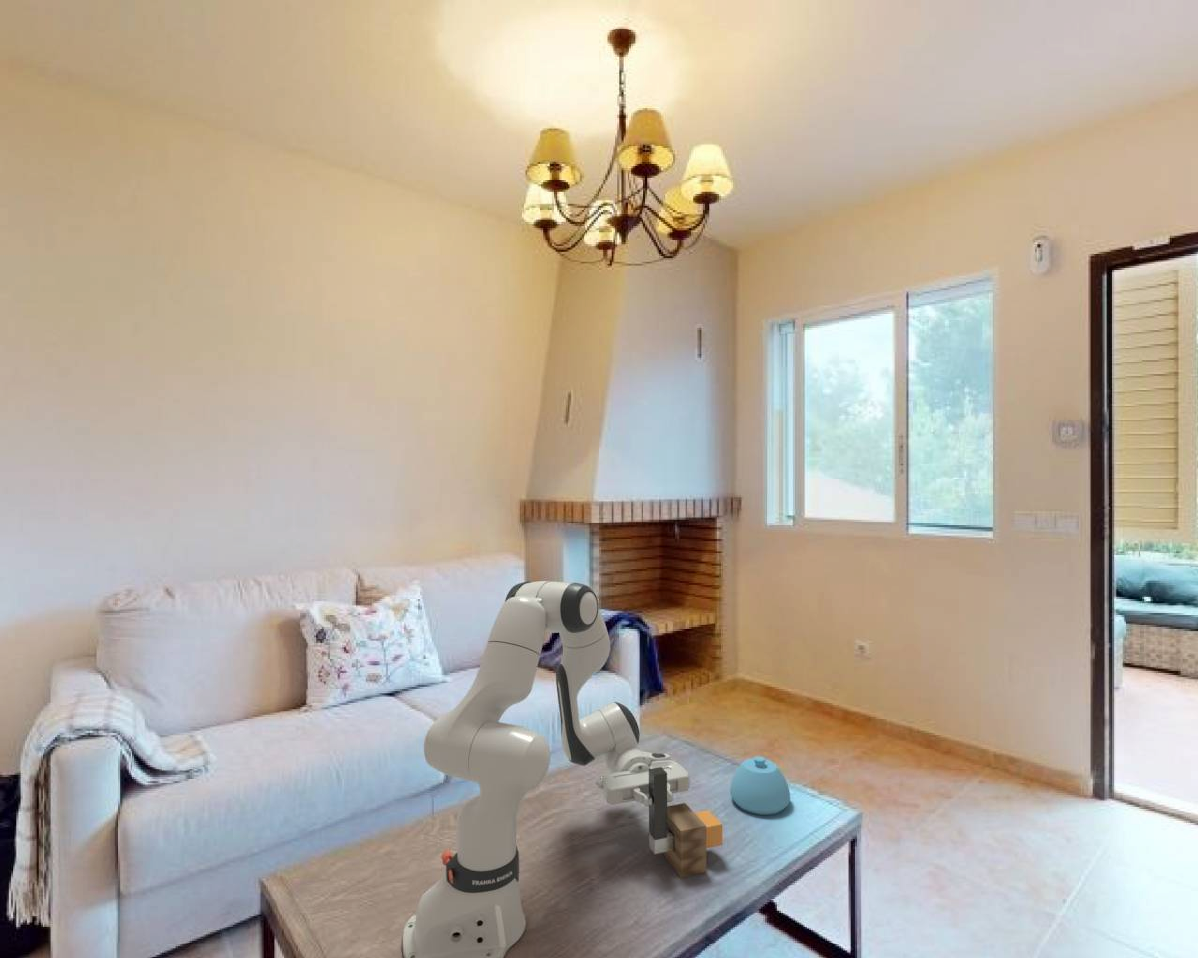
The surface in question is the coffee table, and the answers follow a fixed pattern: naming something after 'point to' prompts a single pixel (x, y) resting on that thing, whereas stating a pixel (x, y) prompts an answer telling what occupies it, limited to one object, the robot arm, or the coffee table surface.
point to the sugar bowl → (760, 787)
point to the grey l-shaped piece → (659, 813)
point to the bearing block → (686, 841)
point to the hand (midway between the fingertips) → (659, 800)
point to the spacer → (711, 828)
